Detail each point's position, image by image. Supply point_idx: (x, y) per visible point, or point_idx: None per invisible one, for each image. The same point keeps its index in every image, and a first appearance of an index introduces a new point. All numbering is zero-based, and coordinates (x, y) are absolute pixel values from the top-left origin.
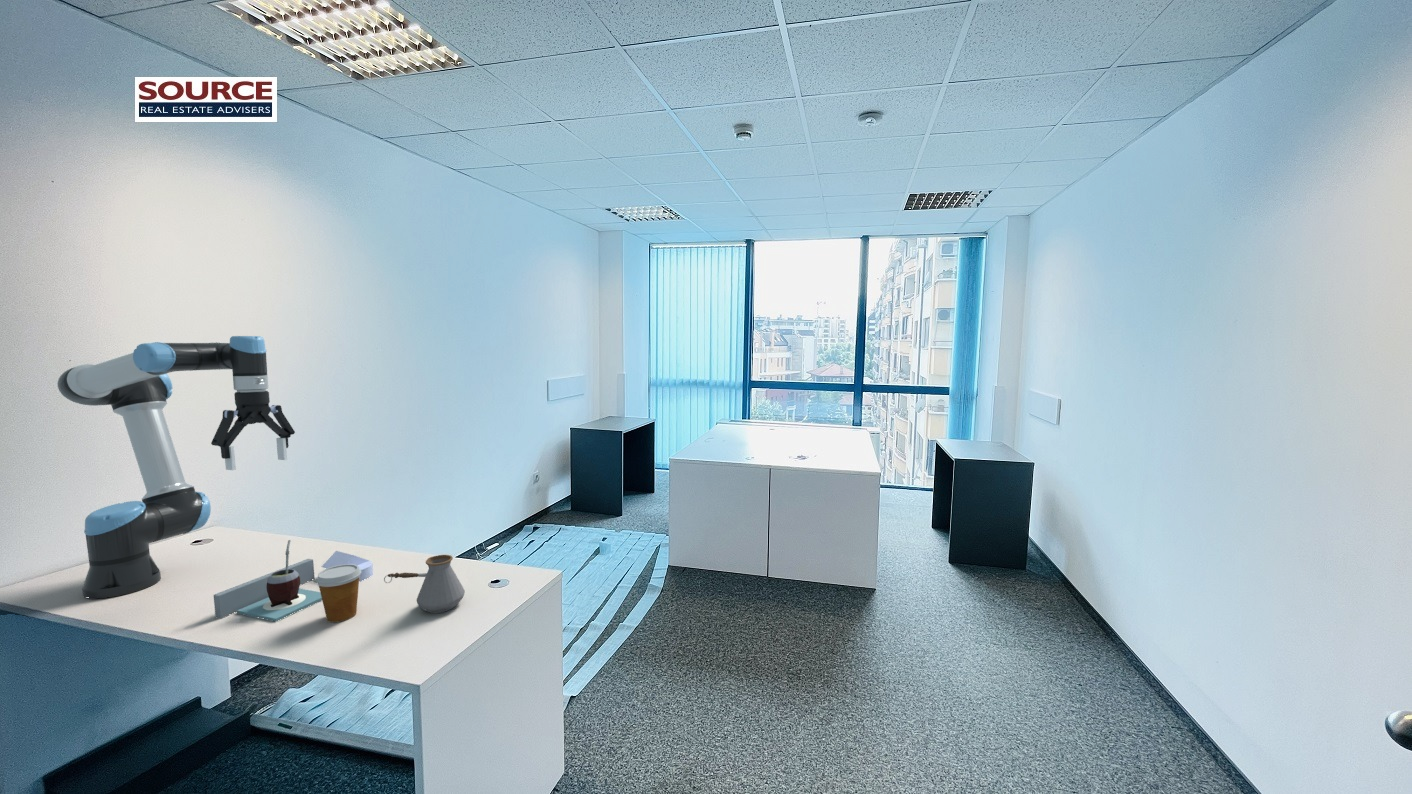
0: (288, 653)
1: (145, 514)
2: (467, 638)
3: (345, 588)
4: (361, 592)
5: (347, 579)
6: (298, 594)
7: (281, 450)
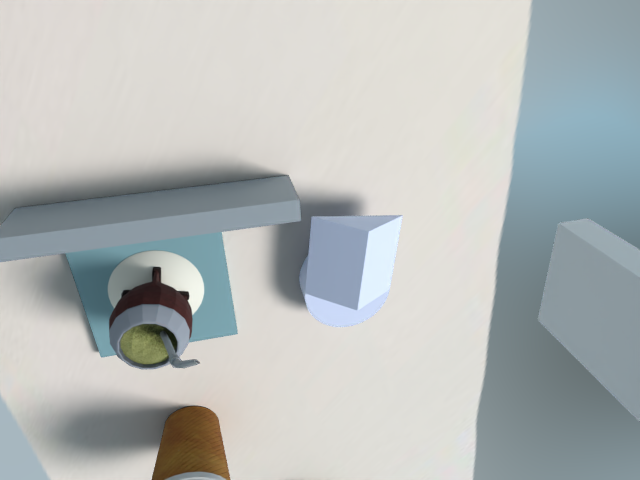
0: (59, 476)
1: None
2: None
3: None
4: (282, 362)
5: None
6: (198, 279)
7: (635, 372)
